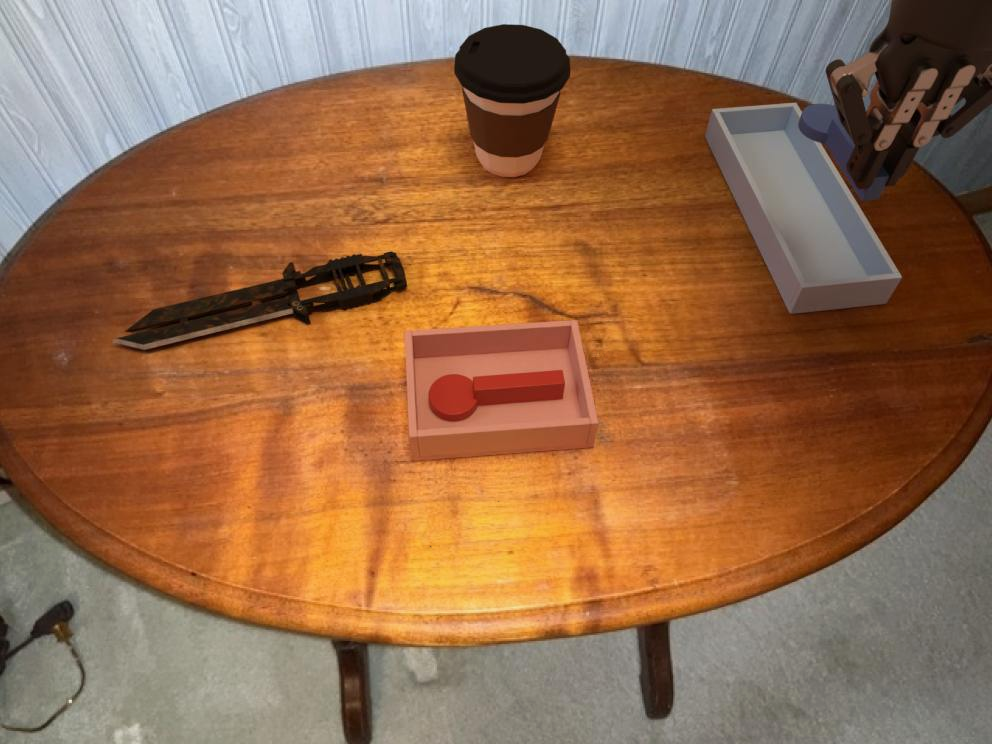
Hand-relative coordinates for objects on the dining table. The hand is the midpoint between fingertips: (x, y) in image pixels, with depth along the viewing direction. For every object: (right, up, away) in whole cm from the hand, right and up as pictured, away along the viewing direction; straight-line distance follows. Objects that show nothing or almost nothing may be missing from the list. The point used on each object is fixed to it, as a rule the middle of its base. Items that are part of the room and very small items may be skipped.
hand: (871, 179), depth 61 cm
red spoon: (-28, -16, +6) cm, 33 cm away
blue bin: (+1, +1, +20) cm, 20 cm away
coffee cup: (-27, +8, +24) cm, 37 cm away
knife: (-48, -9, +11) cm, 50 cm away
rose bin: (-28, -17, +6) cm, 33 cm away
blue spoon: (-1, +3, +3) cm, 4 cm away
